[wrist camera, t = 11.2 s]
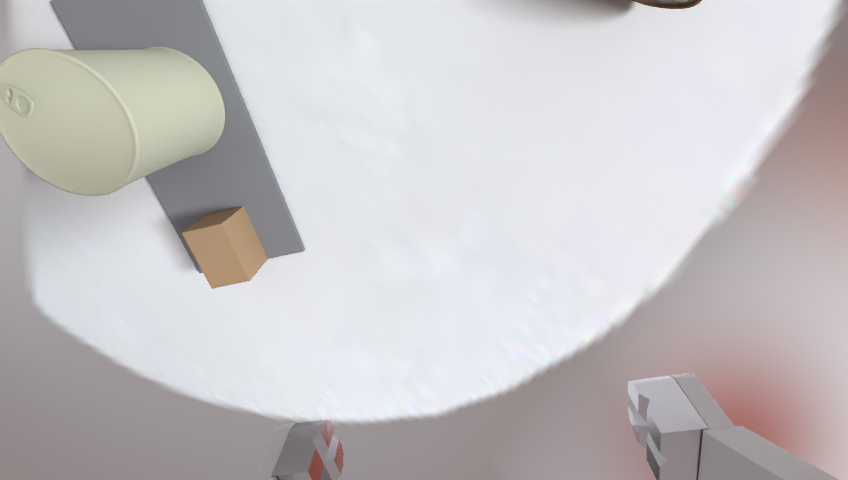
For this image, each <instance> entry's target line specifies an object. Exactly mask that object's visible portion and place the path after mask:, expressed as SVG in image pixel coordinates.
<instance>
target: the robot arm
mask: <svg viewBox="0 0 848 480" xmlns="http://www.w3.org/2000/svg"><path fill="white" fill-rule="evenodd" d="M628 394H629V395H630V397H631V399H632V401H631V402H630V403H629V404H628V413H629V419H630V423H631V426H632V429H633V432H634V434H635V437H636V438H637V441H638V442H639V444H641V445H642V446H643V447H645V448H646V449H647V461H648V463H649V465H650V467H651V469H652V471H653V473H654V476H655V478H656V480H838V479H837V478H835V477H833V476H831V475H829V474H827V473H826V472H824V471H822V470H820V469H819V468H817V467H815V466H813V465H811V464H810V463H808V462H806V461H804V460H802V459H801V458H799V457H797V456H795V455H793V454H792V453H790V452H788V451H786V450H784V449H783V448H781V447H779V446H777V445H775V444H774V443H772V442H770V441H768V440H766V439H765V438H763V437H761V436H759V435H757V434H756V433H754V432H752V431H750V430H748V429H746V428H745V427H743V426H734V425H733V423H732V422H731V421H730V420H729V418H728V417H727V416H726V414H725V413H724V412H723V410H722V409H721V408H720V406H719V405H718V404H717V402H716V401H715V400H714V399H713V397H712V396H711V395H710V393H709V392H708V391H707V390H706V388H705V387H704V386H703V384H702V383H701V382H700V380H699V379H698V378H697V376H696V375H694V374H693V373H686V374H679V375H671V376H662V377H655V378H648V379H641V380H633V381H629V383H628ZM333 431H334V427H333V425H332V423H331V421H329V420H325V421H315V422H304V423H295V424H287V425H279V426H278V427H277V428H276V429H275V430H274V431H273V433H272V436H271V438H270V440H269V443H268V445H267V447H266V449H265V452H264V454H263V456H262V459H261V461H260V463H259V465H258V468H257V470H256V472H255V474H254V476H253V479H252V480H337V479H338V478H339V477H340V476H341V473H342V468H343V449H342V445H341V442H340V440H339V439H338V438H336V437H334V436H333Z"/></svg>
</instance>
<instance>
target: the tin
mask: <svg viewBox="0 0 848 480" xmlns="http://www.w3.org/2000/svg"><path fill="white" fill-rule="evenodd" d="M632 1H635V2H638V3H641V4H644V5H648V6H652V7H659V8H667V9H684V8H690V7H693V6H695V5H697V4H699V3H700V2H701V1H702V0H632Z"/></svg>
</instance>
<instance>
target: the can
mask: <svg viewBox="0 0 848 480" xmlns="http://www.w3.org/2000/svg"><path fill="white" fill-rule="evenodd" d="M224 125H225V107H224V102H223V98H222V95H221V93H220V91H219V88H218V86H217V85H216V83H215V81H214V80H213V78H212V77H211V75H210V74H209V73H208V72H207V71H206V70H205V68H204V67H203V66H201V65H200V64H199V63H198V62H197V61H195V60H194V59H193V58H191V57H190V56H188V55H186V54H184V53H182V52H180V51H178V50H175V49H171V48H167V47H149V48H145V49H134V50H51V49H40V48H39V49H27V50H22V51H19V52H17V53H14V54H13V55H11V56H9V57H8V58H6V59H5V60H4V61H3V62H2V63H1V64H0V134H1V136H2V137H3V139H4V141H5V142H6V144H7V145H8V147H9V148H10V149H11V151H12V152H13V153H14V155H15V156H16V157H17V158H18V159H19V160H20V161H21V162H22V163H23V164H24V165H25V166H26V167H27V168H28V169H29V170H31V171H32V172H33V173H34V174H35V175H37V176H38V177H40V178H41V179H43V180H44V181H46V182H48V183H49V184H51V185H53V186H55V187H57V188H60V189H62V190H65V191H67V192H71V193H74V194H79V195H87V196H99V195H105V194H109V193H112V192H115V191H117V190H119V189H120V188H122V187H123V186H125V185H127V184H129V183H131V182H133V181H135V180H138V179H140V178H142V177H144V176H146V175H148V174H151V173H153V172H155V171H157V170H160V169H162V168H164V167H167V166H169V165H171V164H173V163H176V162H178V161H180V160H183V159H185V158H188V157H190V156H195V155H199V154H202V153H204V152H206V151H208V150H209V149H211V148H212V147H213V146H214V145H215V144H216V143H217V141H218V140H219V138H220V136H221V134H222V132H223V129H224Z"/></svg>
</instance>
